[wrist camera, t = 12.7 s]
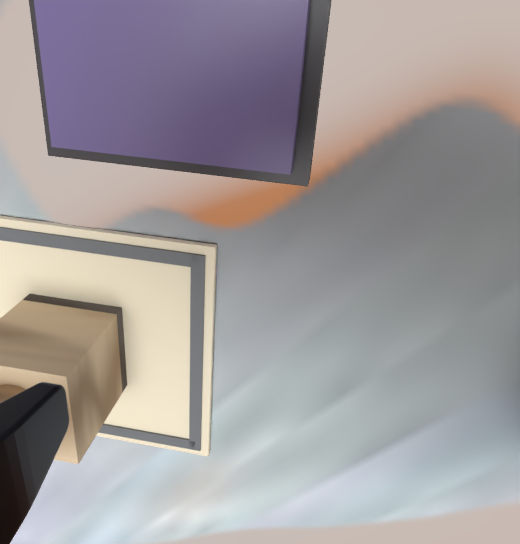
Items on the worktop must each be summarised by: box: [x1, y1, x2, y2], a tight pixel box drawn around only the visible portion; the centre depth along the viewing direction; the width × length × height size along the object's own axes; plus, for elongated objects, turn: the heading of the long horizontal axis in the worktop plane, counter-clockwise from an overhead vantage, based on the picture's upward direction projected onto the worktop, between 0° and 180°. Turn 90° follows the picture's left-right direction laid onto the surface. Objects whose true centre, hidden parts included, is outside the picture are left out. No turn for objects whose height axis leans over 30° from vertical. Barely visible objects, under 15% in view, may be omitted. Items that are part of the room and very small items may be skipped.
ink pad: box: [29, 0, 331, 186], centre depth 17 cm, size 10×8×2 cm
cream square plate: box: [0, 215, 217, 456], centre depth 24 cm, size 13×12×1 cm
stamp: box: [0, 294, 127, 464], centre depth 21 cm, size 4×4×6 cm
